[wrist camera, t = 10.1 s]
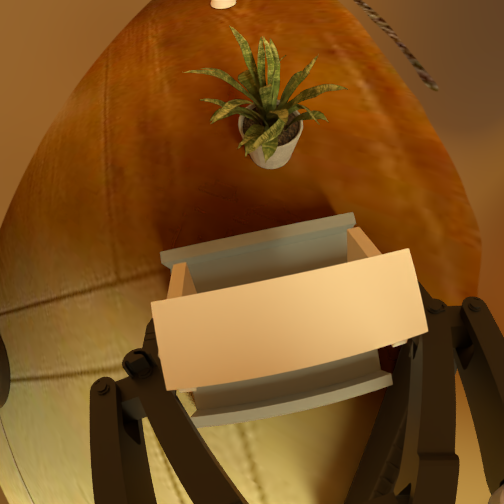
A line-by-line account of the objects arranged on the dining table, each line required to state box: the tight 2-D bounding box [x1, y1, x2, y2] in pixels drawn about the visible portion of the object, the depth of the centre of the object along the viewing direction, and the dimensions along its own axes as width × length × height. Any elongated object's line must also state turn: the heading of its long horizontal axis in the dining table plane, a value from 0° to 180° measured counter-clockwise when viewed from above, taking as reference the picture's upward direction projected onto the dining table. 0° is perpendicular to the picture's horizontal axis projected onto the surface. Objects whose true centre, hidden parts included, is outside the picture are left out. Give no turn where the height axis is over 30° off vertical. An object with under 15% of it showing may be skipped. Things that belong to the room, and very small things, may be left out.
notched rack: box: [160, 212, 393, 428], centre depth 31 cm, size 18×20×4 cm
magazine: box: [344, 338, 457, 504], centre depth 24 cm, size 17×3×30 cm
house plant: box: [185, 26, 348, 169], centre depth 30 cm, size 14×14×16 cm
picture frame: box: [151, 248, 428, 391], centre depth 16 cm, size 3×9×12 cm, turn 101°
